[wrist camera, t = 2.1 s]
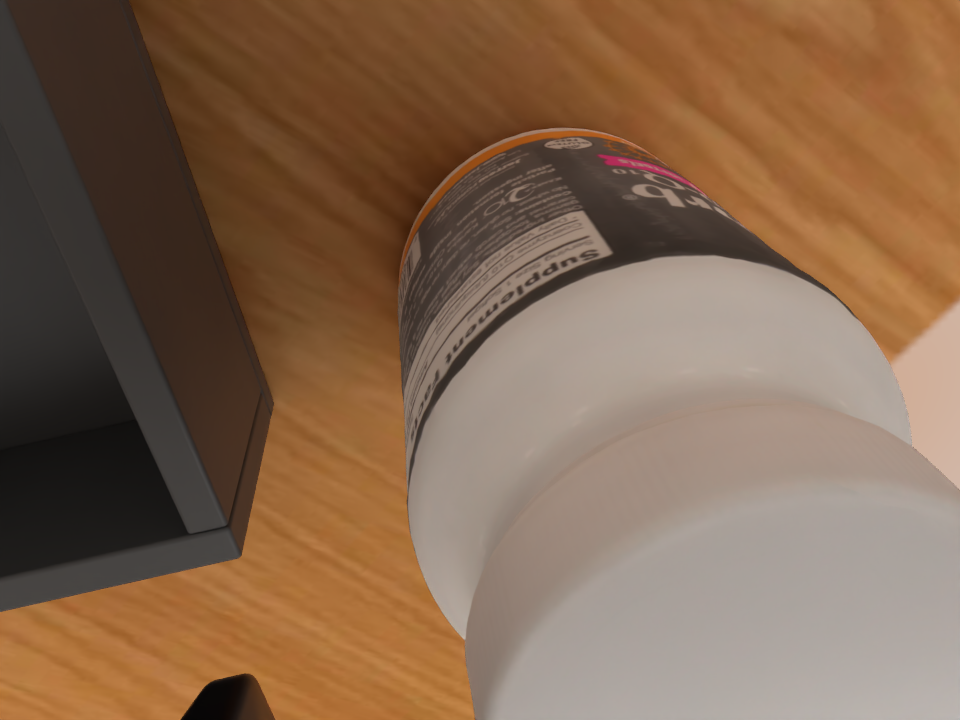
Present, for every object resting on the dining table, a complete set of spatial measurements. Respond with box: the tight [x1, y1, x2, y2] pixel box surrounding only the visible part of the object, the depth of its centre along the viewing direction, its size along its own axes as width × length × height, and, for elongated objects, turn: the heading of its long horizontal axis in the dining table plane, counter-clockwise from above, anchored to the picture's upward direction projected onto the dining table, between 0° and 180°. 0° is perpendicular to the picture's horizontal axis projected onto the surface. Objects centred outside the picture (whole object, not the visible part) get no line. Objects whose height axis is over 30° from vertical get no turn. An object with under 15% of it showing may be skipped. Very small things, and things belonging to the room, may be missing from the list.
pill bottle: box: [398, 128, 960, 720], centre depth 11 cm, size 6×6×10 cm
